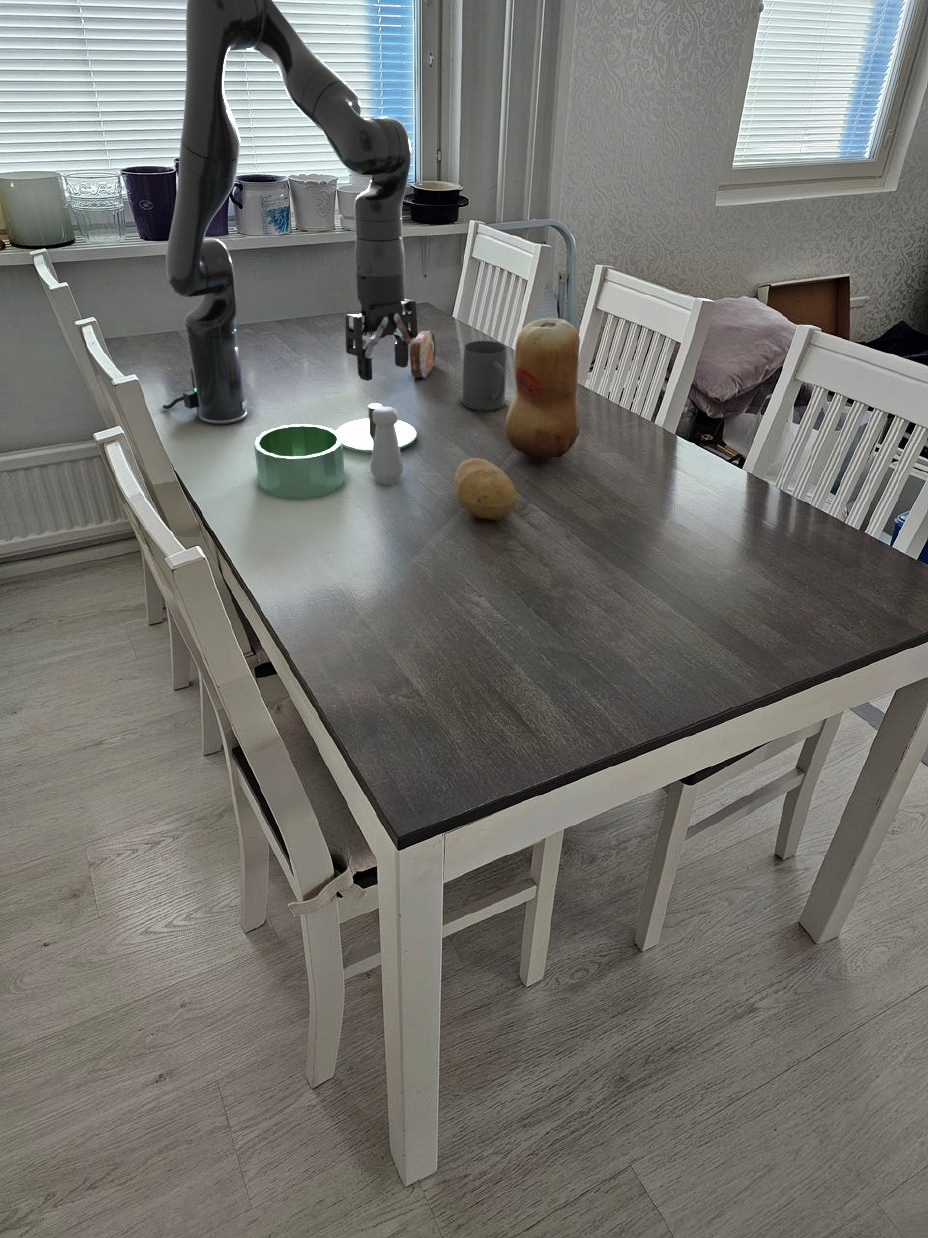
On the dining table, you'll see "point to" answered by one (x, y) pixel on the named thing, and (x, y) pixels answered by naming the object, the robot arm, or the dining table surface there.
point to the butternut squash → (545, 390)
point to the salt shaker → (386, 447)
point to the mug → (484, 375)
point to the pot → (299, 461)
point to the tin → (422, 354)
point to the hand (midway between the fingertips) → (384, 372)
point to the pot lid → (372, 433)
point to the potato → (484, 489)
